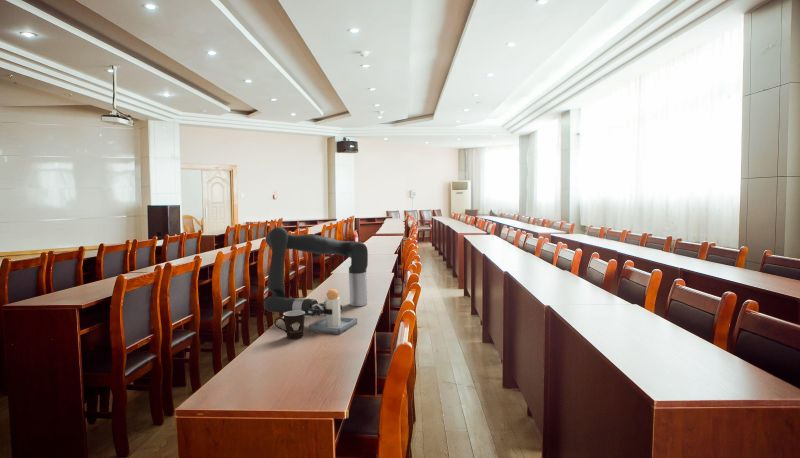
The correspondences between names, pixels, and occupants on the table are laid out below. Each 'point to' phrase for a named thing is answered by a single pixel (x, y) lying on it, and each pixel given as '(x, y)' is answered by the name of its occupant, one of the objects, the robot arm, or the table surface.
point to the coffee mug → (293, 324)
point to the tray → (321, 327)
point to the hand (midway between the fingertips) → (337, 309)
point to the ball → (332, 294)
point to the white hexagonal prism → (333, 312)
